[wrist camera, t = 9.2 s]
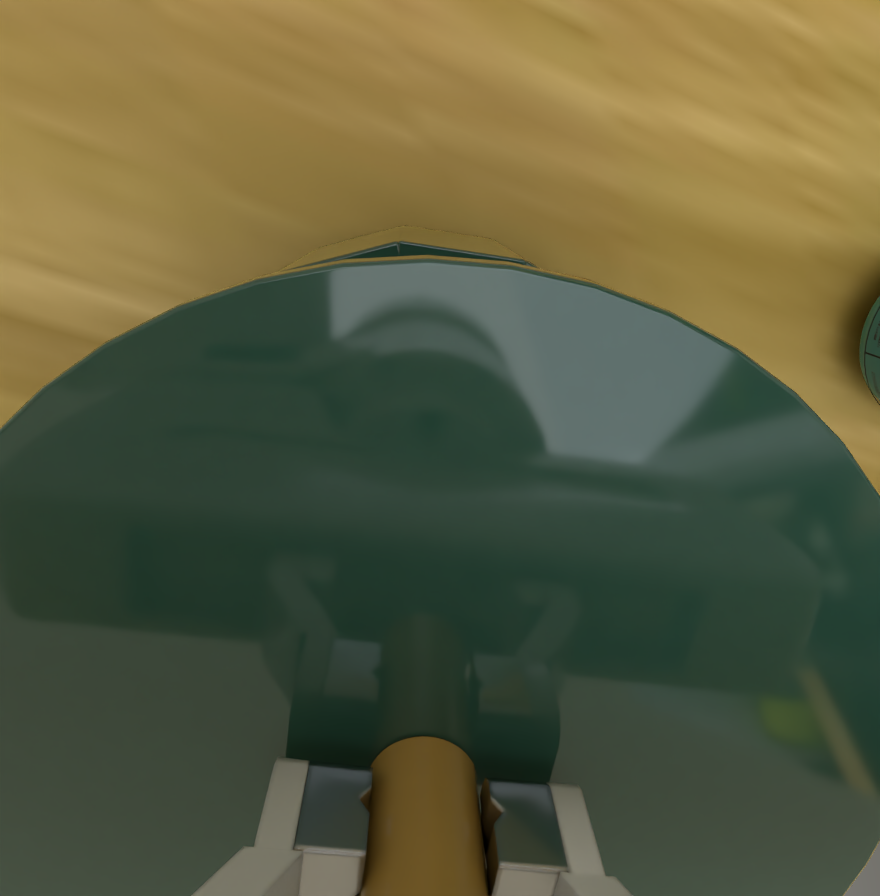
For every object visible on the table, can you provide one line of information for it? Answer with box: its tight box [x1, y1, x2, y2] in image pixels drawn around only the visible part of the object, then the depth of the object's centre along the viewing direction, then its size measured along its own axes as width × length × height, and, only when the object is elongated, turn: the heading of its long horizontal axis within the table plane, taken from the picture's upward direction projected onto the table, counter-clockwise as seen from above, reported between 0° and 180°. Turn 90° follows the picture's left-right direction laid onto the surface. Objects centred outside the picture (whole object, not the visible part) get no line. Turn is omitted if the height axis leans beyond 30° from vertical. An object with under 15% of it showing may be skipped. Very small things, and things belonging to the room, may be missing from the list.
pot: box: [278, 225, 540, 272], centre depth 24 cm, size 16×16×8 cm
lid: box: [0, 255, 880, 896], centre depth 11 cm, size 17×17×5 cm
